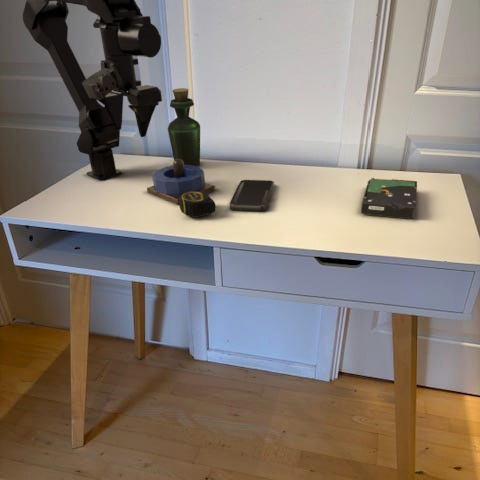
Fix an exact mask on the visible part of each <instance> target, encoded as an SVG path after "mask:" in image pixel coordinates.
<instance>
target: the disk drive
mask: <svg viewBox="0 0 480 480" xmlns="http://www.w3.org/2000/svg"><path fill="white" fill-rule="evenodd" d="M417 191H418V181H416V180H409V179H407V180H405V179H395V178H392V179H385V178H384V179H383V178H375V177H371V178H370V179H368V181H367V185H366V188H365V191H364V195H363V198H362V201H361V208H360V214H361V215H362V214H363V215H369V216H379V217H387V218H399V219H414V218H415V212H416V207H417V202H416V201H417Z"/></svg>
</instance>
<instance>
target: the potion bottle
mask: <svg viewBox="0 0 480 480" xmlns="http://www.w3.org/2000/svg"><path fill="white" fill-rule="evenodd" d="M172 94H173V97H174V98H173V99H171V100H170V103H169V107H170V108H173V109H174V112H175V114H176V118H175V119H172V121H171V122H169V124H168V126H167V133H168V137H169V142H170V148H171V154H172V159H173V161H174V160H175V159H181V160H182V161H183V162H184V165H193V166H197V167H200V165H201V124H200V123H199V121H197V120H196V119H194V118H192V117H191V116H190V111H191V108H192V107H194V106H195V103H194V100H193V99H192V98H190V97H189V88H185V87H179V88H173V89H172Z"/></svg>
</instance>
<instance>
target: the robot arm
mask: <svg viewBox="0 0 480 480" xmlns="http://www.w3.org/2000/svg"><path fill="white" fill-rule="evenodd" d="M50 2H51V3H50ZM53 2H56V3H53ZM68 4H72V5H77V6H78V5H79V6H84V7H85V8H86V9H87V11H89V12H91V13H93V14H94V15H96V16H97V17H96V19H95V21H94V22H93V23H92V27H93V28H94V29H99V31H100V32H99V33H100V36H101V37H100V38H101V43H102V50H103V56H104V59H101V60H100V70H98V71H96V72H94V73H93V74H91V75H90V76H88V77H87V78H86V76H85V73H84V72H83V70H82V68H81V66H80V65H81V64H80V63H79V62H78V59H77V57H76V56H75V53H74V51H73V50H72V47H71V45H70V44H69V41H68V37H69V36H68V35H69V34H68V33H69V26H68V23H67V18H68V15H69V13H70V10H69V7H68ZM22 20H23V24H24V26H25V28H26V29H27V31H28V32H29V34H30V36H31V37H32V39H33V40H34V41H35V42H36V43H37V44H39V45H40V46H41V47H42V48H43V49H45V50H46V51H47V52H48V54H49V56H50V58H51V60H52V61H53V62H52V63H53V64H54V66H55V68H56V70H57V71H58V74H59V76H60V77H61V80H62V82H63V84H64V85H65V87H66V90H67V91H68V93H69V95H70V97H71V99H72V101H73V103H74V105H75V107H76V109H77V112H78V129H79V131H80V134H79V137H78V139H77V141H76V147H77V148H78V152H80V153H82V154H85V155H88V159H89V165H90V170H89V171H87V172H86V175H87V176H89V177H91V178H94V179H96V180H99V181H102V180H105V179H108V178H111V177H115V176H118V175H122V174H123V172H122V170H119V169H117V168H116V161H115V157H114V152H113V149H115V148H119V147H120V138H121V136H120V135H121V130H122V125H123V113H124V112H123V111H124V97H126V99H127V101H128V103H129V104H128V105H127V106H128V108H129V109H130V110H131V111H132V112H133V113H134V116H135V121H136V124H137V129H138V133H139V136H140V137H141V138H144V137H146V136H147V133H148V130H149V127H150V124H151V120H152V117H153V114H154V113H155V110H156V107H157V106H159V104H160V102H163V95H162V90H161V89H160V88H159V87H158V86H154V85H149V84H146V85H142V80H139V79H137V74H136V66H137V65H139V59H138V58H136V57H142V58H151V59H152V58H154V57H156V56H157V55H158V54H159V52H160V50H161V48H162V36H161V35H160V32H159V30H158V28H157V26H156V25H154V24H152V20H151V16H150V15H143V13H142V12H141V9H140V7H139V6H138V4H137V2H136V0H26V1H25V4H24V8H23V12H22ZM134 57H135V58H134ZM135 65H136V66H135Z"/></svg>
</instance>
